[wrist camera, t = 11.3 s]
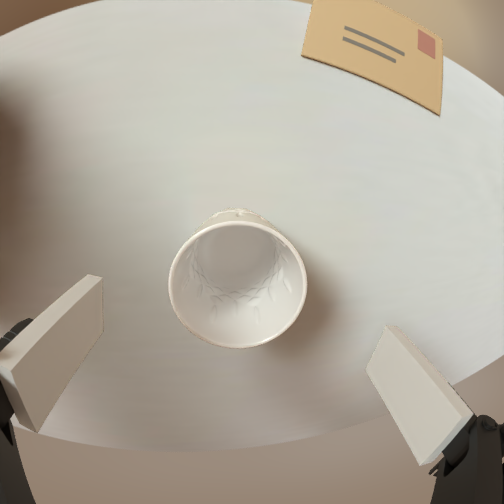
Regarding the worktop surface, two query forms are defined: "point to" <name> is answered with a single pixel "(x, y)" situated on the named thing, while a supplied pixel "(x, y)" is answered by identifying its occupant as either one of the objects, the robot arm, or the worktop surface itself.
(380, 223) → the worktop surface
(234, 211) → the white cup
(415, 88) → the envelope
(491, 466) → the robot arm
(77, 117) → the worktop surface
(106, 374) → the worktop surface
